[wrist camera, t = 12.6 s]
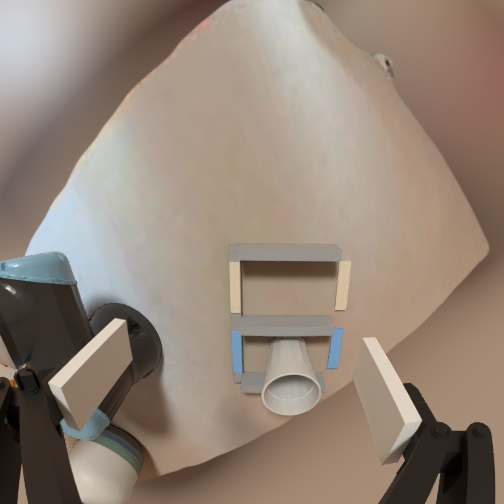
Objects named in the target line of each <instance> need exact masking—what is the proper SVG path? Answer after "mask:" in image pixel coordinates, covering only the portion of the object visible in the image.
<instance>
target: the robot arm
mask: <svg viewBox="0 0 504 504" xmlns="http://www.w3.org/2000/svg"><path fill="white" fill-rule="evenodd" d="M161 351H162V349H161V342H160V339H159V336H158V334H157V332H156V330H155V329H154V327H153V326H152V324H151V323H150V322H149V321H148V320H147V318H145V317H144V316H143V315H142V314H141V313H140V312H138V311H137V310H135V309H133V308H131V307H129V306H127V305H124V304H119V303H110V304H106V305H103V306H101V307H100V308H99V309H97V310H96V311H95V312H94V313H93V314H92V315H91V316H90V318H89V319H88V317H87V314H86V311H85V309H84V306H83V303H82V300H81V297H80V294H79V291H78V287H77V281H76V280H75V278H74V275H73V273H72V270H71V267H70V264H69V261H68V259H67V257H66V256H65V255H64V254H63V253H61V252H57V251H54V252H47V253H41V254H36V255H31V256H25V257H20V258H15V259H10V260H5V261H1V262H0V363H2V364H4V365H7V366H9V367H11V368H13V369H16V368H18V367H20V366H22V365H24V364H26V366H27V367H26V368H22V369H20V370H18V371H17V372H16V373H15V375H14V379H15V381H16V384H17V386H18V388H17V387H12V386H11V384H10V381H9V379H7V378H5V377H0V504H17V500H18V489H19V480H20V471H21V465H22V467H23V474H24V481H25V488H26V494H27V499H28V504H82V501H81V498H80V495H79V492H78V489H77V486H76V483H75V479H74V476H73V472H72V469H71V465H70V461H69V457H68V453H67V448H66V444H65V439H64V434H63V433H65V434H66V435H69V436H71V437H73V438H76V439H80V440H94V439H96V438H97V437H99V436H100V434H101V433H102V432H103V430H104V429H105V428H106V427H107V426H108V425H109V424H110V421H111V420H112V418H113V416H114V415H115V413H116V411H117V410H118V408H119V406H120V405H121V403H122V401H123V400H124V398H125V396H126V395H127V393H128V391H129V390H130V388H131V387H132V385H133V384H135V383H136V382H138V381H139V380H141V379H142V378H144V377H146V376H148V375H149V374H151V373H152V372H153V370H154V369H155V368H156V366H157V364H158V362H159V361H160V358H161ZM352 378H353V381H354V383H355V386H356V389H357V392H358V395H359V398H360V400H361V403H362V406H363V409H364V412H365V415H366V418H367V421H368V424H369V427H370V430H371V433H372V436H373V439H374V442H375V445H376V448H377V451H378V454H379V458H380V461H381V464H382V465H384V464H390V463H395V462H398V460H399V459H400V457H401V456H402V454H403V457H404V459H405V461H404V463H403V464H402V466H401V467H400V469H399V471H398V472H397V473H396V474H397V475H396V477H395V478H394V480H393V482H392V483H391V485H390V486H389V488H388V490H387V491H386V493H385V494H384V496H383V497H382V499H381V500H380V502H379V503H378V504H425V502H426V500H427V498H428V496H429V494H430V492H431V490H432V487H433V485H434V483H435V481H436V478H437V476H438V474H439V473H440V480H439V488H438V495H437V501H436V504H495V467H494V453H493V443H492V435H491V431H490V429H489V428H488V426H487V425H485V424H483V423H480V422H475V423H472V424H470V426H469V427H468V428H467V430H466V431H452V430H451V428H450V427H449V426H448V425H446V424H444V423H443V422H437V421H436V419H435V417H434V416H433V414H432V412H431V410H430V409H429V407H428V405H427V404H426V403H425V400H424V399H423V397H422V395H421V393H420V392H419V390H418V389H417V388H416V387H415V386H414V385H412V384H411V383H404V384H402V383H401V381H400V379H399V377H398V375H397V374H396V372H395V370H394V368H393V367H392V365H391V363H390V362H389V360H388V358H387V356H386V355H385V353H384V351H383V350H382V348H381V346H380V345H379V343H378V341H377V340H376V338H362V342H361V347H360V351H359V355H358V359H357V363H356V366H355V370H354V374H353V377H352Z"/></svg>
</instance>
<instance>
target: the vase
mask: <svg viewBox="0 0 504 504" xmlns="http://www.w3.org/2000/svg"><path fill="white" fill-rule="evenodd" d="M68 457H69V461H70V465H71V469H72V472H73V476H74V479H75V483H76V486H77V489H78V492H79V495H80V498H81V501H82V504H124V503H125V502H126V501H127V500H128V498H129V497H130V495H131V492H132V490H133V488H134V485H135V483H136V480H137V478H138V476H139V473H140V471H141V468H142V465H143V460H144V457H143V451H142V449H141V447H140V445H139V444H138V443H137V442H136V441H135V440H134V439H133V438H132V437H131V436H130V435H129V434H127V433H126V432H124V431H122V430H121V429H119V428H117V427H114V426H111V425H108V426H107V427H106V428H105V429H104V430H103V432H102V433H101V434H100V436H99V437H97V438H96V439H94V440H80V439H79V440H78V441H77V443H76V444H75V446H74V447H73V449H72V450H71V452H70V453H69V455H68Z"/></svg>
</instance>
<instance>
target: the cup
mask: <svg viewBox="0 0 504 504" xmlns="http://www.w3.org/2000/svg"><path fill="white" fill-rule="evenodd" d="M261 396H262V401H263V403H264V405H265V406H266V407H267V408H268V409H269V410H271V411H272V412H274V413H277V414H281V415H298V414H301V413H304V412H306V411H308V410H310V409H312V408H313V407H314V406H315V405H316V404H317V403H318V401H319V400H320V397H321V387H320V384H319V381H318V379H317V376H316V373H315V371H314V368H313V365H312V362H311V359H310V356H309V353H308V350H307V345H306V342H305V341H304V339H303V338H301V337H300V336H278V337H276V338H275V339H274V340H273V341H272V342H271V344H270V347H269V357H268V363H267V368H266V374H265V379H264V384H263V389H262V395H261Z"/></svg>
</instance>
